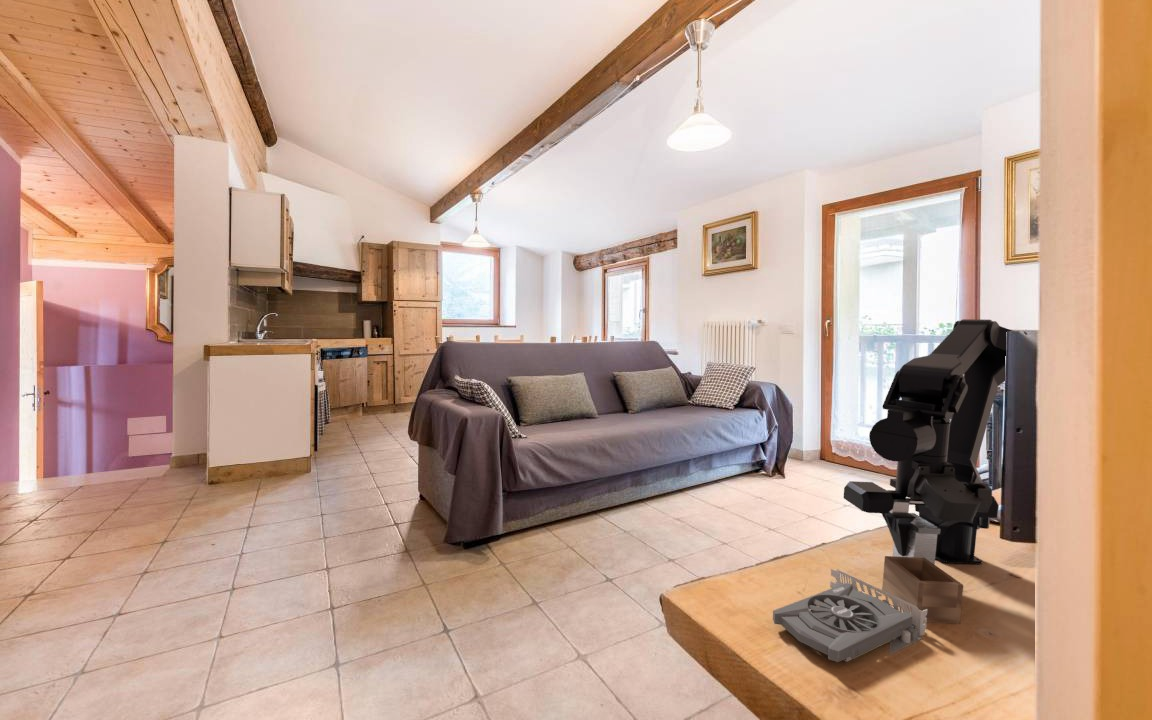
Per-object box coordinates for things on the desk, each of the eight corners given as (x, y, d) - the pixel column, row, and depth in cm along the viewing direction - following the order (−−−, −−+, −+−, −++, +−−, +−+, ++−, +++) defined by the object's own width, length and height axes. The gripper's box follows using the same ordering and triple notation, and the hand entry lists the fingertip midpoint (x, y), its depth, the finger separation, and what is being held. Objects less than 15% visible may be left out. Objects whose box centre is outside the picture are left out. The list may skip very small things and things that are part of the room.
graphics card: (836, 564, 68) (930, 608, 57) (835, 590, 68) (929, 638, 57) (750, 593, 60) (841, 651, 49) (749, 622, 60) (839, 685, 50)
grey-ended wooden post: (889, 563, 73) (894, 512, 73) (909, 563, 73) (914, 513, 73) (913, 582, 68) (918, 527, 67) (935, 583, 68) (940, 528, 67)
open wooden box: (921, 592, 67) (924, 557, 66) (959, 623, 60) (963, 585, 59) (882, 590, 67) (884, 556, 66) (915, 621, 60) (919, 583, 60)
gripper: (891, 465, 61) (882, 582, 63) (1041, 471, 61) (1028, 588, 62) (845, 443, 72) (837, 543, 74) (971, 448, 72) (961, 548, 73)
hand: (913, 555), depth 70 cm, fingers closed on grey-ended wooden post, 3 cm apart
